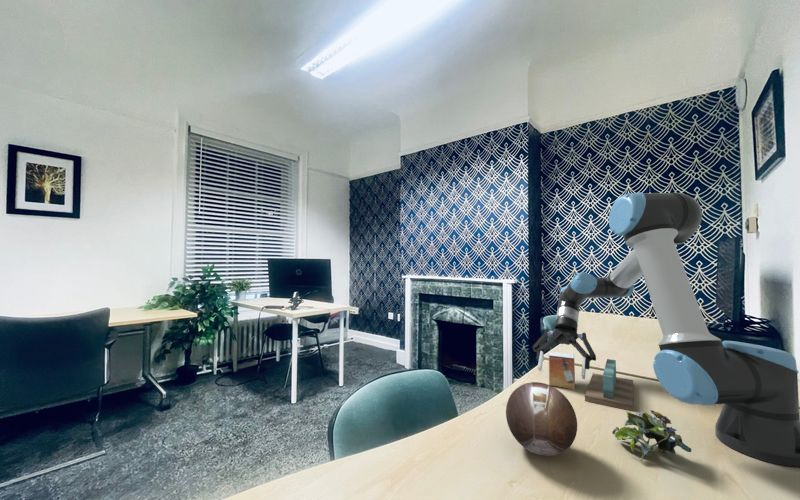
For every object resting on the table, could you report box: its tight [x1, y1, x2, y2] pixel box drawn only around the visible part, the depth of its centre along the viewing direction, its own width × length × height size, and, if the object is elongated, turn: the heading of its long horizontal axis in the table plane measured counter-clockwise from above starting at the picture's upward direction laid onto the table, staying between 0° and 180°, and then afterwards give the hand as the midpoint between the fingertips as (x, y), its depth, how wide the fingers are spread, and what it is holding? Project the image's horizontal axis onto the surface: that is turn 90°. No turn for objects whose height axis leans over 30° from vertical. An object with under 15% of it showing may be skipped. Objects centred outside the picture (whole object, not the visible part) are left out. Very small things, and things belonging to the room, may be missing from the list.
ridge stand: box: [584, 358, 634, 412], centre depth 106 cm, size 24×12×8 cm, turn 144°
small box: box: [548, 351, 576, 390], centre depth 112 cm, size 8×6×10 cm
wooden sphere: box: [505, 381, 578, 457], centre depth 74 cm, size 15×15×15 cm
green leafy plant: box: [611, 410, 692, 459], centre depth 72 cm, size 11×11×12 cm
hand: (560, 373), depth 111 cm, fingers open, 13 cm apart
